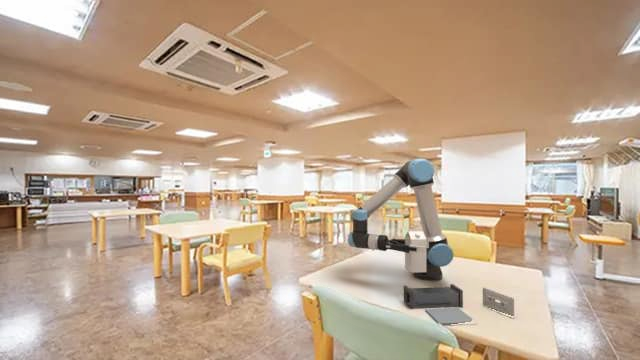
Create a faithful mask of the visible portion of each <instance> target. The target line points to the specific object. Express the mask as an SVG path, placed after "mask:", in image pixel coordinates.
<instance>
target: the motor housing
mask: <svg viewBox="0 0 640 360" xmlns="http://www.w3.org/2000/svg"><path fill="white" fill-rule="evenodd" d="M463 297H464V290H463V289H461V288H460V287H458V286H457V285H455V284H453V283H450V285H449V286H441V287H440V286H436V287H434V286H433V287H409V286H408V285H406V284H405V285H403V303H404V304H405V305H406V306H407V308H409V309H410V310H415V309H416V310H417V309H442V308H441V307H444V308H464V298H463Z"/></svg>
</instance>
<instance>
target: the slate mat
mask: <svg viewBox="0 0 640 360" xmlns="http://www.w3.org/2000/svg"><path fill="white" fill-rule="evenodd" d="M424 311H425V313H426V314H427V315H429V317H430V318H431V319H432V320H434V322H435V323H437V322H438V323H440V324H442V325H444V326H452V325H451V324H458V323H465V322H471V321H472V319H473V317H471V316H469V315H468V314H467V313H465V312H464V311H463V310H461V308H460V307H444V308H424ZM438 323H437V324H438Z"/></svg>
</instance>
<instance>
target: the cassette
mask: <svg viewBox="0 0 640 360" xmlns="http://www.w3.org/2000/svg"><path fill="white" fill-rule="evenodd" d="M498 301H499V302H498ZM483 305H484V306H483ZM482 306H483V307H485V306H487V307H488V308H491V309H494V310H496V311H499V312H502V313H505V314H508V315H511V316H514V317H515V298H514V297H512V296H509V295H506V294H504V293H500V292H498V291H496V290H492V289H490V288H488V287H485V286H484V287H482ZM487 307H486V308H487ZM488 308H487V309H488ZM491 309H490V310H491Z"/></svg>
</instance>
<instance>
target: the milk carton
mask: <svg viewBox="0 0 640 360" xmlns="http://www.w3.org/2000/svg"><path fill="white" fill-rule="evenodd" d="M404 239H405V245H408V246H409V245H414V246H423V247H425V253H418V252H410V251H409V253H407V252H404V268H405V269H406V270H407V271H409V272H410V273H413V272H426V237H425V235H424V232H423V228H408V229H407V232H406V234H405V235H404Z"/></svg>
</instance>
